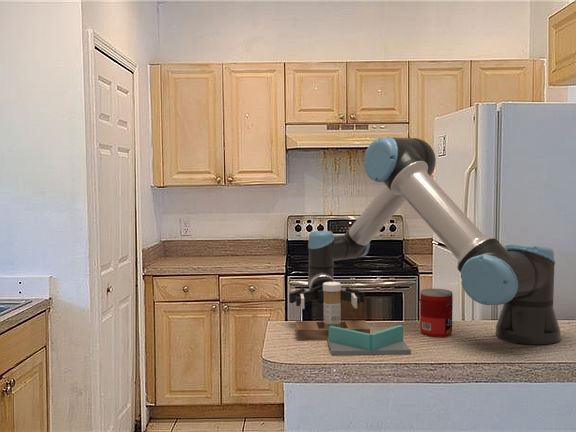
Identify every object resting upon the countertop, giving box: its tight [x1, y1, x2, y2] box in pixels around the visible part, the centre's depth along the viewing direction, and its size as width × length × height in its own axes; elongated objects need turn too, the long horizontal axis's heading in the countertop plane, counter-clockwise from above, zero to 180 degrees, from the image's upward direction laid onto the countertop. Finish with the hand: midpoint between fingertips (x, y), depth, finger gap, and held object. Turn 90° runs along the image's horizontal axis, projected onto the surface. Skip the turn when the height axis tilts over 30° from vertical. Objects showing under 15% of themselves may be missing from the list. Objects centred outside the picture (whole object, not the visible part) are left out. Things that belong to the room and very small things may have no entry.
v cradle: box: [326, 324, 412, 356], centre depth 156 cm, size 18×12×4 cm, turn 91°
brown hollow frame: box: [295, 319, 371, 341], centre depth 168 cm, size 18×9×3 cm, turn 91°
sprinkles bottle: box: [322, 281, 342, 329], centre depth 168 cm, size 5×5×14 cm
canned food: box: [419, 288, 454, 338], centre depth 169 cm, size 8×8×11 cm
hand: (329, 303), depth 170 cm, fingers open, 13 cm apart
